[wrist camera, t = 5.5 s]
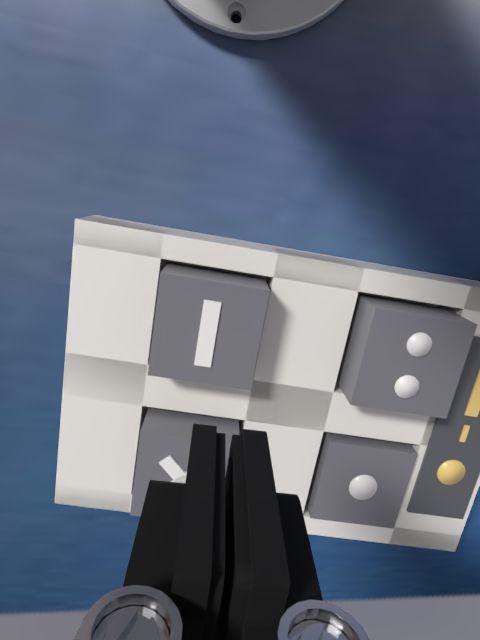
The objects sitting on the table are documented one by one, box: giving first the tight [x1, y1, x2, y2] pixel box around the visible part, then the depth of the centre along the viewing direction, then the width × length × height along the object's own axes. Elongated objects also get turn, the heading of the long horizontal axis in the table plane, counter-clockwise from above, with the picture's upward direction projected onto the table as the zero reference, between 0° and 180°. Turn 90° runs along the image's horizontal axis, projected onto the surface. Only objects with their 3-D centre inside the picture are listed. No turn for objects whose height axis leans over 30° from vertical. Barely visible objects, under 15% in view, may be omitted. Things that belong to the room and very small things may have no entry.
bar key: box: [148, 263, 270, 390], centre depth 22 cm, size 5×5×3 cm
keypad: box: [55, 215, 480, 552], centre depth 26 cm, size 16×24×4 cm, turn 80°
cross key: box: [130, 407, 240, 517], centre depth 24 cm, size 5×5×3 cm
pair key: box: [336, 294, 477, 419], centre depth 23 cm, size 5×5×3 cm
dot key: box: [306, 432, 417, 529], centre depth 27 cm, size 5×5×3 cm
